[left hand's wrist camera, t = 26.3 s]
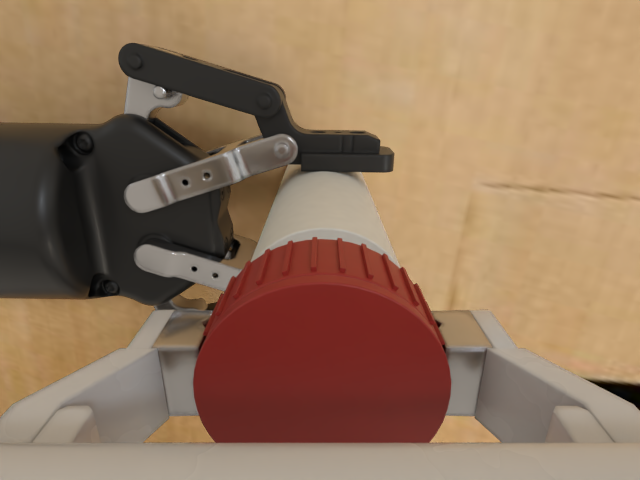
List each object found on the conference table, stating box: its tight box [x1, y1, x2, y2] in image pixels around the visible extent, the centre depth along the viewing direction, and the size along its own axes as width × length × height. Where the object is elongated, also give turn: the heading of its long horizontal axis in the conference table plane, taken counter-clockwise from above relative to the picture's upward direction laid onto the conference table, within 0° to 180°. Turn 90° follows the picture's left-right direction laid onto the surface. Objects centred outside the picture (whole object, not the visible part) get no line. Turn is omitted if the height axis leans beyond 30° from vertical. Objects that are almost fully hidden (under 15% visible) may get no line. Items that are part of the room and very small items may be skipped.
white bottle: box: [251, 164, 400, 268], centre depth 17 cm, size 4×4×16 cm
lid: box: [193, 237, 451, 443], centre depth 9 cm, size 5×5×2 cm
